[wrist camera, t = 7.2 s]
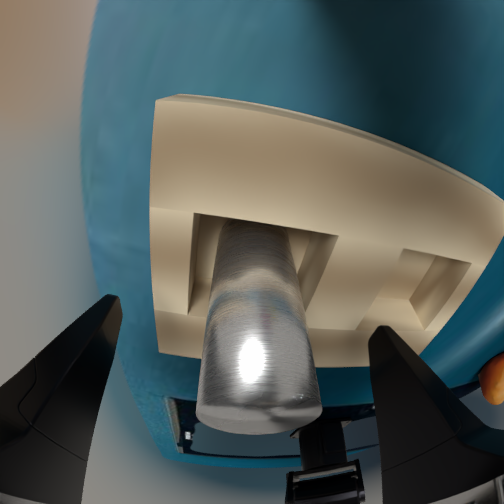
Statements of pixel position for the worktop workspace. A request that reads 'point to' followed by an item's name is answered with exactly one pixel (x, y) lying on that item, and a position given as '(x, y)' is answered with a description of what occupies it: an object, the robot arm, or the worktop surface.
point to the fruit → (493, 380)
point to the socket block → (313, 223)
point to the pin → (256, 337)
